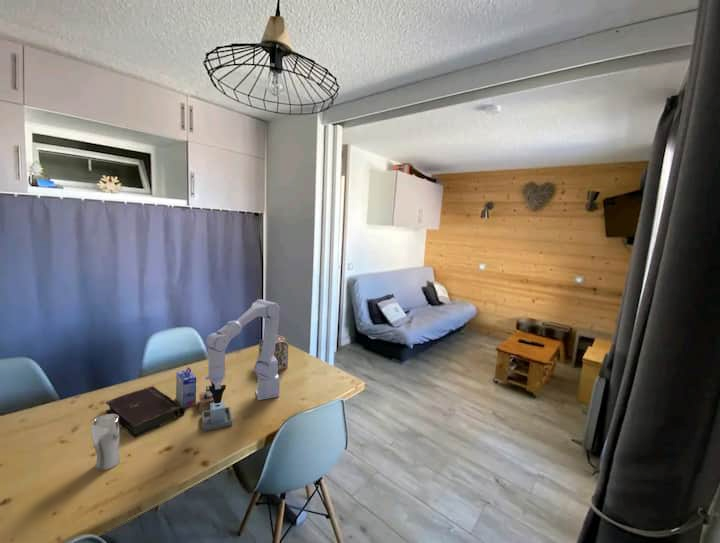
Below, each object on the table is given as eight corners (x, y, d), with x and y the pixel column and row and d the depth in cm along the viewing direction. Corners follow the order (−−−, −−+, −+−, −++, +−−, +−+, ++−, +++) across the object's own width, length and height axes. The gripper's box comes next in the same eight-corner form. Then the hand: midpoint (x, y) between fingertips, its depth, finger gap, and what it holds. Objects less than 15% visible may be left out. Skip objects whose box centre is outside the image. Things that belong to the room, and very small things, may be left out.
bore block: (219, 397, 141) (219, 389, 141) (221, 407, 134) (221, 398, 134) (199, 401, 138) (199, 392, 137) (199, 411, 131) (199, 402, 130)
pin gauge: (213, 402, 138) (213, 384, 137) (213, 405, 135) (213, 387, 134) (206, 403, 137) (205, 385, 136) (206, 406, 134) (205, 389, 133)
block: (224, 414, 129) (224, 401, 128) (224, 422, 125) (225, 407, 124) (210, 417, 127) (210, 403, 126) (210, 424, 122) (210, 410, 121)
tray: (229, 411, 132) (229, 406, 132) (232, 425, 123) (232, 420, 123) (202, 416, 128) (202, 411, 127) (202, 432, 119) (202, 427, 118)
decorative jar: (258, 365, 175) (258, 333, 172) (277, 360, 183) (278, 329, 180) (268, 373, 166) (269, 340, 163) (288, 367, 174) (289, 336, 171)
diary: (154, 395, 142) (154, 384, 141) (185, 416, 128) (185, 405, 128) (103, 413, 126) (102, 401, 126) (131, 440, 113) (131, 427, 112)
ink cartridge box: (197, 404, 136) (196, 372, 134) (182, 408, 132) (182, 375, 130) (189, 394, 143) (189, 363, 141) (175, 398, 139) (174, 367, 137)
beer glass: (104, 455, 105) (101, 413, 102) (126, 455, 105) (124, 413, 103) (88, 472, 98) (85, 427, 95) (112, 471, 98) (110, 427, 96)
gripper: (204, 358, 127) (205, 390, 129) (205, 374, 114) (206, 409, 116) (224, 355, 130) (224, 387, 132) (227, 371, 117) (227, 405, 119)
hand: (216, 397), depth 124 cm, fingers open, 7 cm apart
